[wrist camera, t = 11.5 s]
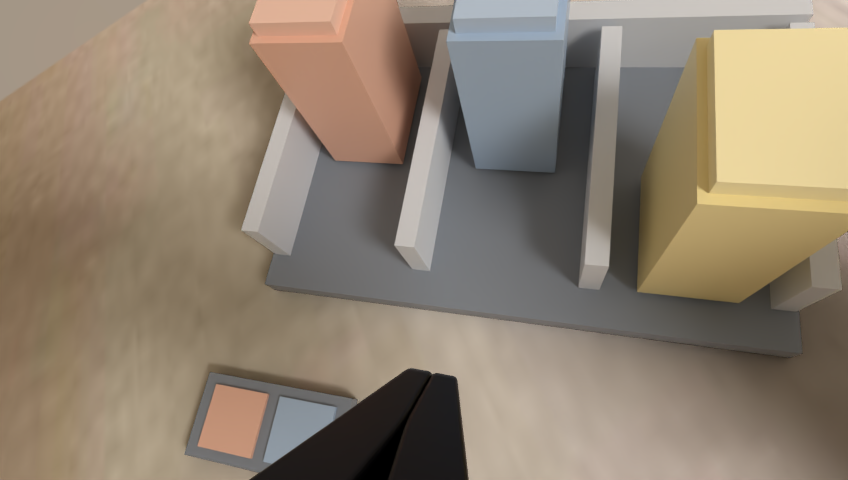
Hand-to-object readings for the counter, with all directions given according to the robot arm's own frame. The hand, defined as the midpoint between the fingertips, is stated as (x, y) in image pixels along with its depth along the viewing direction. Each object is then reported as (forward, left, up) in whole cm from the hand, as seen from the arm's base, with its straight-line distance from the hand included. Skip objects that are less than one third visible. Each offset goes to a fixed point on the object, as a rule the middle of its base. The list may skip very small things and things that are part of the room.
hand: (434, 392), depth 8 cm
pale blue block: (0, +13, -11) cm, 17 cm away
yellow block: (+7, +8, -11) cm, 15 cm away
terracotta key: (-7, +13, -11) cm, 19 cm away
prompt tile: (-9, -2, -13) cm, 16 cm away
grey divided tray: (0, +11, -13) cm, 17 cm away
